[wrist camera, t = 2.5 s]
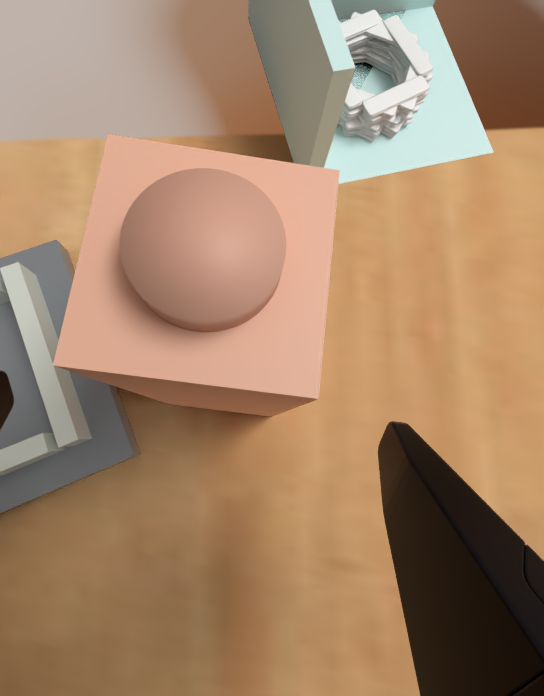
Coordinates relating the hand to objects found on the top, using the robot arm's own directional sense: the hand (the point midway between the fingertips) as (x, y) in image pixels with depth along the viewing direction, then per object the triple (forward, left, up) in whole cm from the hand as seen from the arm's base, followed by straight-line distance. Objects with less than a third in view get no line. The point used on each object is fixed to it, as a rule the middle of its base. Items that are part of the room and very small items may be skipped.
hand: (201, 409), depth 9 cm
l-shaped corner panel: (+21, +5, -10) cm, 24 cm away
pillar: (+2, +2, -10) cm, 10 cm away
